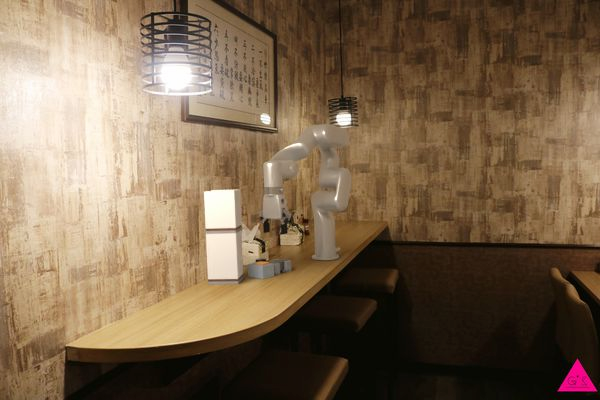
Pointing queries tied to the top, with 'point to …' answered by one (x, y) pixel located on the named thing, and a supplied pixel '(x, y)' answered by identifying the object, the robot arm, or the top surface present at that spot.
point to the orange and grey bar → (273, 262)
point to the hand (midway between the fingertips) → (275, 233)
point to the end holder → (261, 270)
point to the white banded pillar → (223, 236)
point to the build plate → (261, 260)
